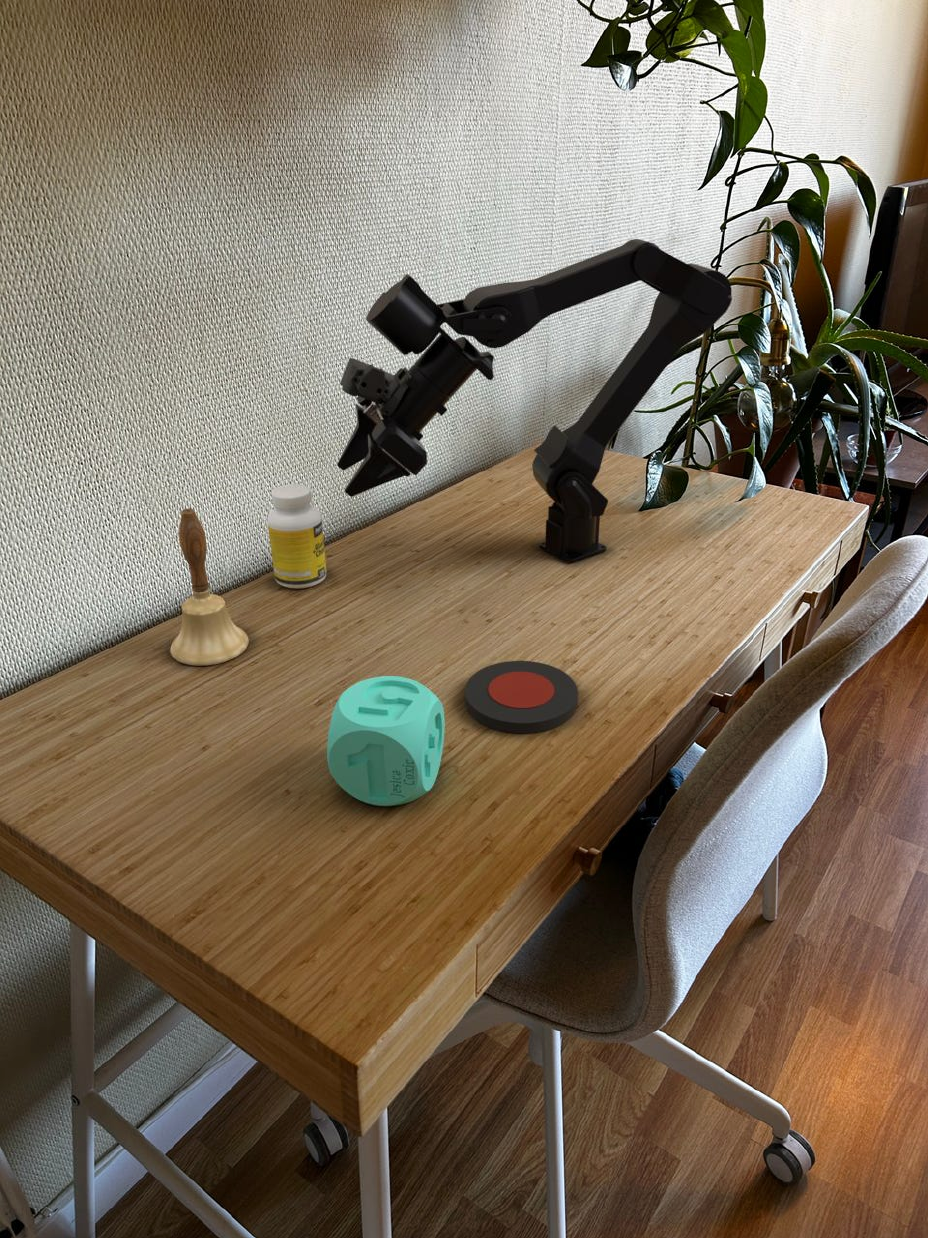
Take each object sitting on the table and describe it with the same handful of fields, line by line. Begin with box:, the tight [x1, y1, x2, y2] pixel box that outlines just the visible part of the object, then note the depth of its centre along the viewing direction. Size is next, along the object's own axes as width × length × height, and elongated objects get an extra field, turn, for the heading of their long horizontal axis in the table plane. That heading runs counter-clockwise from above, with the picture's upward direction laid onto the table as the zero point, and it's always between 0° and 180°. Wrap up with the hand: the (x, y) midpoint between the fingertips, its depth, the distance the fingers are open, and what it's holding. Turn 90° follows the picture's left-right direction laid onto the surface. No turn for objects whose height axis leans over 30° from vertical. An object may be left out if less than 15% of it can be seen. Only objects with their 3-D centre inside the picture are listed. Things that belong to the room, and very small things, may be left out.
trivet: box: [464, 660, 579, 734], centre depth 89 cm, size 11×11×1 cm
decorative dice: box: [326, 675, 446, 807], centre depth 77 cm, size 8×8×8 cm
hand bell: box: [169, 508, 250, 667], centre depth 96 cm, size 8×8×16 cm
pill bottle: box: [266, 483, 328, 589], centre depth 111 cm, size 6×6×12 cm
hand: (343, 480), depth 109 cm, fingers open, 9 cm apart
